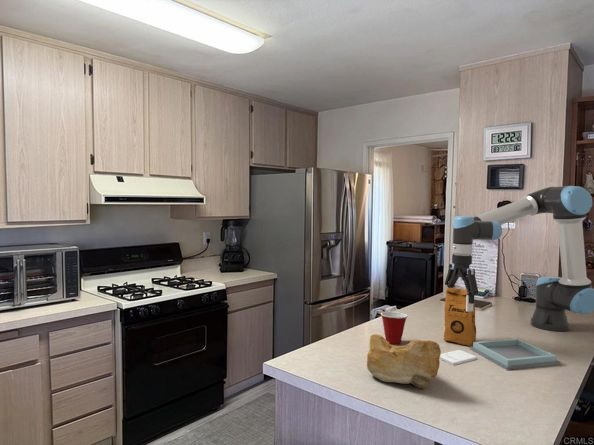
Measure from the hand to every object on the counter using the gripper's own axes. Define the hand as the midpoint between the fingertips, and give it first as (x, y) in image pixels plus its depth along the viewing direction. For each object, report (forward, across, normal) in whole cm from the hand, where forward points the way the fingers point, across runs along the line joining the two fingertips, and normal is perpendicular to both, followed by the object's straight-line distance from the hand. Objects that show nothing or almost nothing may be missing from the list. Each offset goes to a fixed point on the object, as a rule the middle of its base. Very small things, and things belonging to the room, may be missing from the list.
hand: (459, 307), depth 166 cm
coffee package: (+15, 0, 0) cm, 15 cm away
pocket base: (+14, +18, +10) cm, 25 cm away
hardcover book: (+15, -54, +41) cm, 69 cm away
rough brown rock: (+15, +28, -38) cm, 49 cm away
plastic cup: (+15, -5, -27) cm, 31 cm away
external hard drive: (+15, +15, -12) cm, 25 cm away
